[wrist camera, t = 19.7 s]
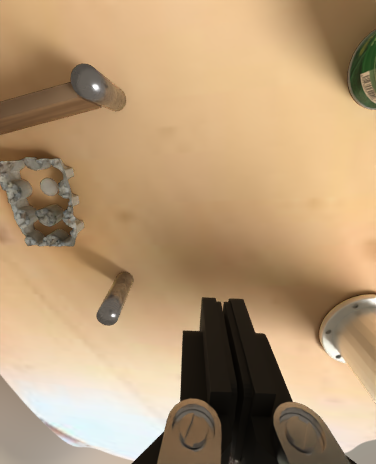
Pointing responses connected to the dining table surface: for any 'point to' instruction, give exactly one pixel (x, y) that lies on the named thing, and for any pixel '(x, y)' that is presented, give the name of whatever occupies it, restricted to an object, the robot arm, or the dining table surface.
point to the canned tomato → (364, 73)
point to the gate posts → (113, 98)
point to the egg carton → (48, 216)
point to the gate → (42, 107)
